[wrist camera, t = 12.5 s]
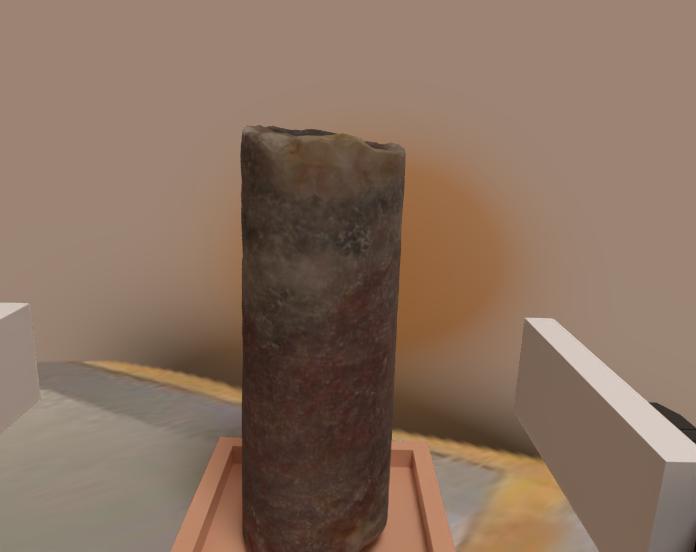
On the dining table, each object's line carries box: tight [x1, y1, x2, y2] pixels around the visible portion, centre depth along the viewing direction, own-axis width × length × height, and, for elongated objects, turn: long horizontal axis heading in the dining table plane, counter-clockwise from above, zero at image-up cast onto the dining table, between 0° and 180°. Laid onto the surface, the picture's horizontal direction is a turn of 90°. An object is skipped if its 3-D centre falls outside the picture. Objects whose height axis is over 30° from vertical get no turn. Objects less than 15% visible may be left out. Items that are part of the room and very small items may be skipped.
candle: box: [241, 125, 405, 552], centre depth 26 cm, size 8×7×20 cm
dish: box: [170, 437, 455, 552], centre depth 28 cm, size 13×13×2 cm
